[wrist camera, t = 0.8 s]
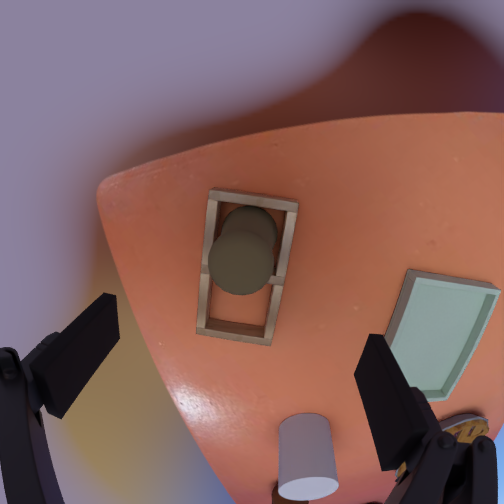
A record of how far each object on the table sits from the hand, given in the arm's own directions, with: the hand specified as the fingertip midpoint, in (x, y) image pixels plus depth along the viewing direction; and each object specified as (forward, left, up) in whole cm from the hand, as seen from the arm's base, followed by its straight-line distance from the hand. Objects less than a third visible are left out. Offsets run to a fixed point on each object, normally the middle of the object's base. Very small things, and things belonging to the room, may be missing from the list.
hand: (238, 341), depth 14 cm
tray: (+10, +26, -19) cm, 34 cm away
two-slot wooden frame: (+3, -1, -19) cm, 20 cm away
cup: (+29, +12, -19) cm, 37 cm away
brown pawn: (0, -1, -19) cm, 19 cm away
